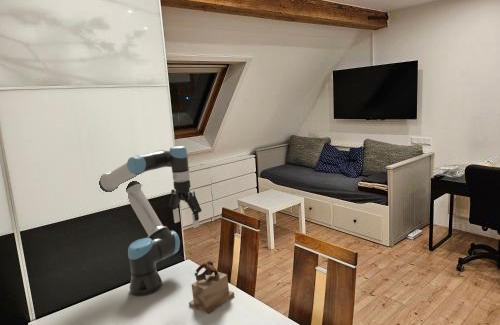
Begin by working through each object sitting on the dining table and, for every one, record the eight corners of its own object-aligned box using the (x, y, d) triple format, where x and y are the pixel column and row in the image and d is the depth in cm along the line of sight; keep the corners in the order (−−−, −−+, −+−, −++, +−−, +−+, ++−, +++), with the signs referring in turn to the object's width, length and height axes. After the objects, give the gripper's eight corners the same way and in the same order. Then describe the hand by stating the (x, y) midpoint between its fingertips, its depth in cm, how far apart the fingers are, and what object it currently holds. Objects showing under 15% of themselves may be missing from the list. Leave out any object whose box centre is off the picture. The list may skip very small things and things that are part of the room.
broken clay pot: (220, 285, 147) (208, 272, 144) (202, 294, 149) (190, 281, 146) (222, 265, 158) (212, 253, 155) (205, 274, 160) (195, 262, 157)
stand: (189, 305, 151) (186, 284, 149) (214, 288, 163) (212, 268, 161) (209, 313, 143) (206, 291, 142) (234, 295, 155) (232, 274, 154)
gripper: (158, 179, 164) (163, 222, 168) (193, 184, 149) (198, 231, 152) (170, 176, 170) (175, 218, 174) (206, 180, 154) (210, 226, 158)
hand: (186, 224), depth 163 cm, fingers open, 13 cm apart
